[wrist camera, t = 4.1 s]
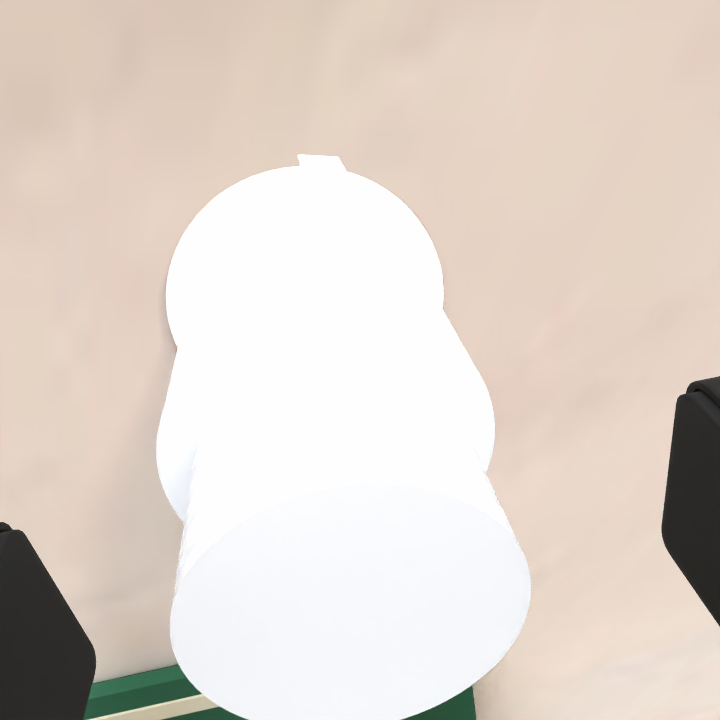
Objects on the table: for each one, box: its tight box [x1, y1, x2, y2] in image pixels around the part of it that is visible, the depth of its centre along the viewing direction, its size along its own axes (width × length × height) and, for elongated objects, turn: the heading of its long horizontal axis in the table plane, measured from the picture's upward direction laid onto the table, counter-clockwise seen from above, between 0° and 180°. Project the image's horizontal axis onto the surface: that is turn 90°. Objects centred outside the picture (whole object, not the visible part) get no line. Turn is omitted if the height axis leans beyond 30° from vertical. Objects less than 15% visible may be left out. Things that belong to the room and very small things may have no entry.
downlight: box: [156, 155, 531, 720], centre depth 13 cm, size 8×7×10 cm
